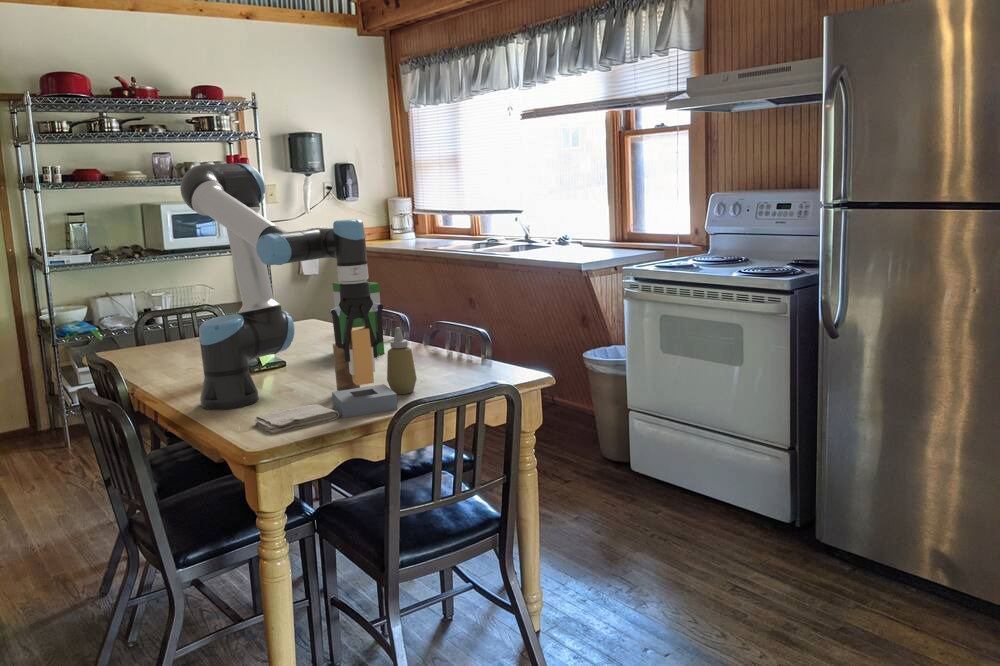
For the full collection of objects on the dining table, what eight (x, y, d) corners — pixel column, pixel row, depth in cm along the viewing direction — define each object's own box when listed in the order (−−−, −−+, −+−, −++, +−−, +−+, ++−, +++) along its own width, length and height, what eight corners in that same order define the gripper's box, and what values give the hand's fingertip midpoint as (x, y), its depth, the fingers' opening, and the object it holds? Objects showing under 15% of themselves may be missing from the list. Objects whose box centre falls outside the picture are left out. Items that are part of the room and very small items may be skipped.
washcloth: (252, 426, 207) (251, 414, 206) (318, 411, 218) (317, 399, 217) (272, 436, 198) (270, 424, 197) (340, 420, 209) (339, 408, 208)
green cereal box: (338, 351, 291) (332, 282, 287) (357, 347, 296) (351, 280, 292) (365, 357, 278) (359, 286, 274) (384, 353, 283) (378, 283, 278)
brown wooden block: (338, 394, 232) (334, 344, 229) (337, 393, 234) (332, 343, 231) (360, 391, 234) (355, 342, 231) (358, 389, 236) (354, 340, 233)
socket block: (343, 417, 208) (341, 402, 208) (333, 406, 219) (331, 391, 219) (397, 409, 214) (396, 393, 213) (385, 398, 225) (384, 384, 224)
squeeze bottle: (396, 387, 236) (391, 324, 232) (422, 389, 233) (417, 325, 229) (382, 395, 228) (377, 330, 225) (409, 396, 225) (404, 330, 222)
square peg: (356, 385, 212) (351, 331, 210) (352, 382, 216) (347, 328, 214) (374, 382, 214) (369, 328, 211) (369, 379, 218) (364, 326, 215)
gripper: (321, 286, 204) (331, 380, 208) (391, 279, 210) (399, 370, 214) (316, 284, 211) (325, 374, 215) (384, 276, 217) (391, 364, 221)
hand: (362, 372), depth 215 cm, fingers closed on square peg, 4 cm apart
